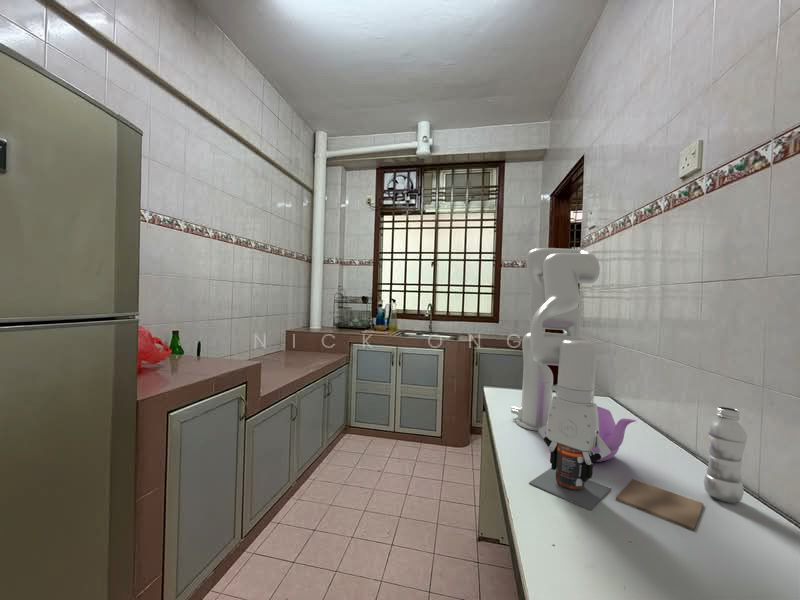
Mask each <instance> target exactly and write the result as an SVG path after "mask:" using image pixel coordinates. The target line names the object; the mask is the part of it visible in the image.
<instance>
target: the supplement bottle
mask: <svg viewBox="0 0 800 600" xmlns="http://www.w3.org/2000/svg"><path fill="white" fill-rule="evenodd" d="M584 462H585V459H584V456H583V453H582V451H579V450H576V449H573V448H570V447H567V446H564V445H561V444H558V447H557V462H556V481H557V482H558V483H559V484H560V485H561V486H563V487H565V488H568V489H573V490H580V489H582V488H583V487H584V483H585V482H583V481H582V465H583V463H584Z"/></svg>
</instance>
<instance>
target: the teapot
mask: <svg viewBox="0 0 800 600" xmlns="http://www.w3.org/2000/svg"><path fill="white" fill-rule="evenodd" d="M597 410H598V418H599V436H600V437H601V439H602V440H603V441H604V443H605V444H606V445H607V447H608V448H609V449H610V451H611V453H610V454H609V455H607V456H605V457H603V458H601V459H600V460H598V461H596V462H599V463H600V462H603V461H609V460H610V459H612V458H613V457H614V456H615V455H616V454H617V453H618V452H619V449H620V447H621V445H622V444H623V442H624V438H625V432H626V428H627V427H628V426H629V424H631V423H635V422H637V420H636V419H632V418H626V417H625V418H621V419H619V420H618V421H617V423H616V422H615V419H614V417H613V414H612V412H611V411H610V410H609V409H607V408H604V407H601V406H598V405H597ZM593 452H594V454H596V453H597V452H600V449H599V447H596V448H594V450H593ZM596 462H595V463H596Z"/></svg>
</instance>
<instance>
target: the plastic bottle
mask: <svg viewBox="0 0 800 600" xmlns="http://www.w3.org/2000/svg"><path fill="white" fill-rule="evenodd" d="M715 415H716V416H717V418H716V419H714V420H713V421H712V422H710V424H709V426H708V428H707V436H708V445H709V446H708V448H709V449H708V450H709V451H708V452H709V455H708V456H709V457H708V464H707V468H706V469H707V470H706V473H705V475H704V478H703V487H704V490H705V491H706V493H707V494H708V495H709V496H710V497H712V498H714V499H716V500H718V501H722V502H725V503H732V504H737V503H739V502H741V501H742V500H743V497H744V493H745V492H744V483H743V481H742V480H743V475H742V474H743V473H742V464H743V462H742V461H743V458H744V452H745V449H746V444H747V441H748V435H747V432H746V430H745V429H744V427H742V425H741V423H740V422H739V421H740V420H741V417H740V410H738V409H736V408H732V407H729V406H728V407H726V406H717V407H716V413H715Z"/></svg>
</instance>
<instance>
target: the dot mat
mask: <svg viewBox="0 0 800 600" xmlns="http://www.w3.org/2000/svg"><path fill="white" fill-rule="evenodd" d="M528 484H529V485H531V486H533V487H536V488H538V489H540V490H542V491H544V492H547V493H549V494H551V495H554V496H556V497H558V498H560V499H562V500H565V501H567V502H569V503H572V504H574V505H577V506H578V507H581V508H584V509H586V510H588V511H592V510H593V509H594V508H595V507H596V506H597V505H598V503H600V501H602V499H603V498H604V497H606V495H608V493H610V492H611V490H612V488H611V487H609V486H606V485H603V484H601V483H598V482H595V481H593V480H591V479H588V480H587V481H586V482H585V483H584V487H583V488H582V489H580V490H573V489H568V488H565V487H563V486H561V485H560V484H559V483H558V482H557V481H556V469H555V470H553V469H551V467H550V468H549V469H547V470H546V471H544V472H542V473H541V474H540V475H538V476H536V477H534V479H532V480H530V481H529V482H528Z"/></svg>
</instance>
